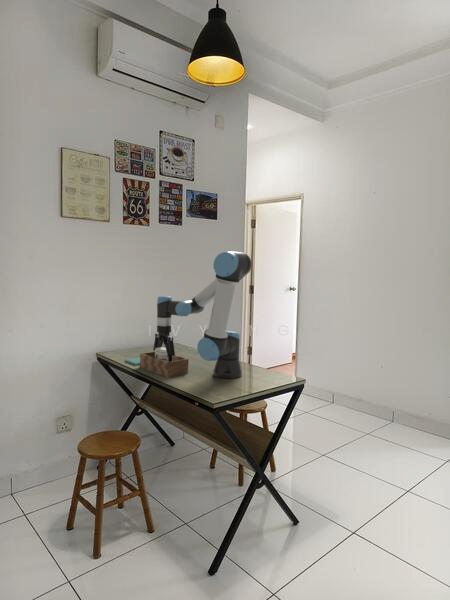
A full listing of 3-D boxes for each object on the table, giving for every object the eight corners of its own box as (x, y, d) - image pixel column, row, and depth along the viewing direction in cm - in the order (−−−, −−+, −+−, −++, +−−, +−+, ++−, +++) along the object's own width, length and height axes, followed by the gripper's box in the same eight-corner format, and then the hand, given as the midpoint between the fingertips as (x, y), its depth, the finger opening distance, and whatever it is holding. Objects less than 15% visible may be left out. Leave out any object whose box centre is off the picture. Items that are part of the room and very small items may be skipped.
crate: (188, 372, 221) (188, 358, 220) (166, 377, 211) (167, 362, 211) (160, 363, 239) (160, 350, 239) (140, 367, 230) (140, 353, 229)
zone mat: (154, 362, 241) (154, 360, 241) (135, 365, 233) (135, 363, 233) (143, 358, 250) (143, 356, 250) (125, 361, 242) (125, 359, 242)
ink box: (154, 369, 225) (154, 348, 224) (160, 367, 230) (160, 346, 228) (167, 372, 221) (167, 350, 220) (173, 370, 226) (173, 348, 224)
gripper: (182, 327, 218) (181, 369, 220) (158, 321, 234) (158, 361, 236) (170, 328, 212) (169, 371, 215) (146, 322, 229) (146, 363, 231)
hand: (163, 366), depth 225 cm, fingers closed on ink box, 9 cm apart
